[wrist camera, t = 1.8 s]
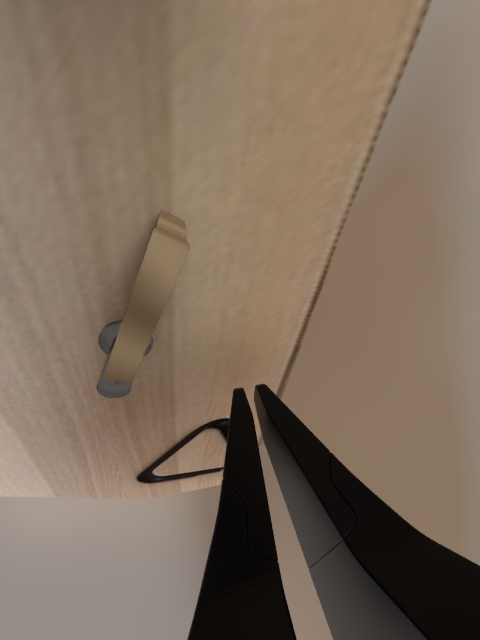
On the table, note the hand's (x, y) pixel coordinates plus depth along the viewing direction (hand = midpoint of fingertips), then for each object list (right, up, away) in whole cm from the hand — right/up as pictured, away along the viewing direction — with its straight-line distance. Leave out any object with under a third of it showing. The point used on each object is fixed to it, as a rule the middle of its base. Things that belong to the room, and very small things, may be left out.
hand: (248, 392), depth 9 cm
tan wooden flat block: (-7, +6, +8) cm, 13 cm away
